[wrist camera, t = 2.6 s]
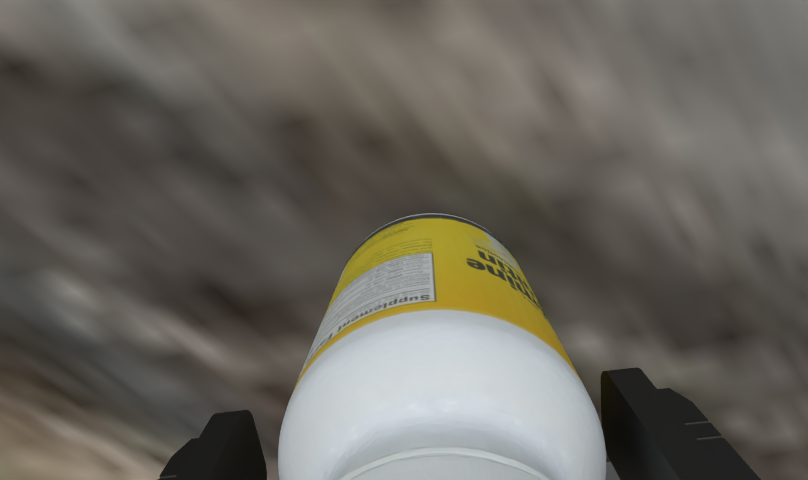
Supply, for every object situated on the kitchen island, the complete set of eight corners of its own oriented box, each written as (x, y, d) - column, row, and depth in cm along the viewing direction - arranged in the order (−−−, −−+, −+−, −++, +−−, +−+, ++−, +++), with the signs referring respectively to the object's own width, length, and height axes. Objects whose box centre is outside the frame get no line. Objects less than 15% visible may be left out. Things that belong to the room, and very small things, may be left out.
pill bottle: (527, 364, 18) (696, 802, 7) (355, 383, 19) (267, 821, 8) (515, 194, 16) (721, 438, 5) (323, 219, 17) (142, 492, 6)
